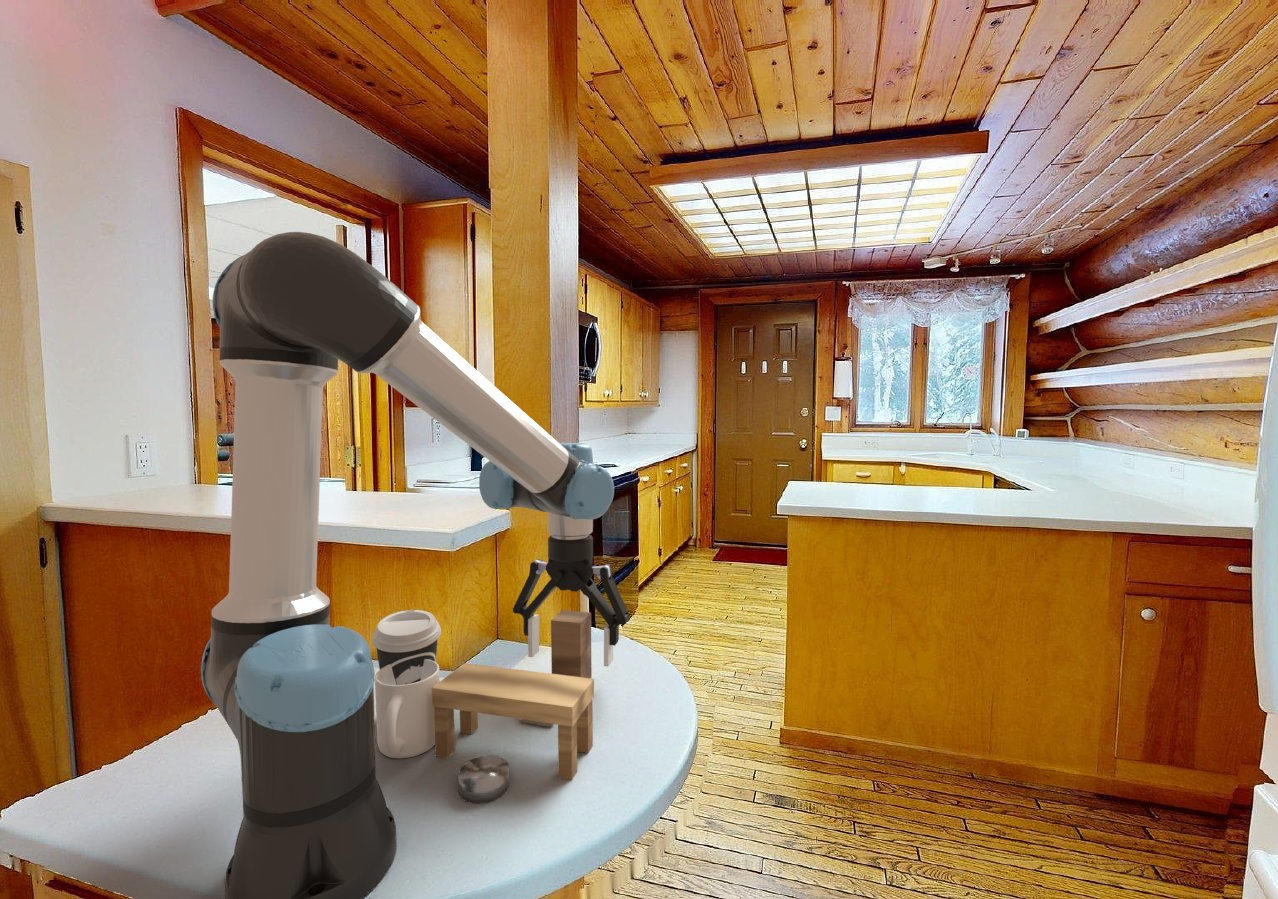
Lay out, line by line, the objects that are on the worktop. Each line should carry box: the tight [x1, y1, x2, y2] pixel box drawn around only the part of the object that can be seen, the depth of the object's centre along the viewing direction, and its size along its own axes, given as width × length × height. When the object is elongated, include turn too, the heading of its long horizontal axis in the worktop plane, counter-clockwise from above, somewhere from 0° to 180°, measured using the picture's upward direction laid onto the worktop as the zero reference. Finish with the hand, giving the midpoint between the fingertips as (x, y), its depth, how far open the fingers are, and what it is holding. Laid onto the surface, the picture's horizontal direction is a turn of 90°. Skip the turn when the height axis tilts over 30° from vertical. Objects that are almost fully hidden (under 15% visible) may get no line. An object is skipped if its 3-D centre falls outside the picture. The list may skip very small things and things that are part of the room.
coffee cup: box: [371, 609, 442, 685], centre depth 88 cm, size 10×10×15 cm
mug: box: [374, 659, 441, 759], centre depth 80 cm, size 12×8×10 cm
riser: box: [432, 662, 595, 781], centre depth 80 cm, size 8×20×10 cm, turn 75°
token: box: [458, 754, 510, 805], centre depth 72 cm, size 6×6×2 cm
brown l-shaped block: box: [521, 609, 593, 728], centre depth 94 cm, size 17×5×12 cm, turn 165°
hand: (570, 658), depth 100 cm, fingers open, 13 cm apart
